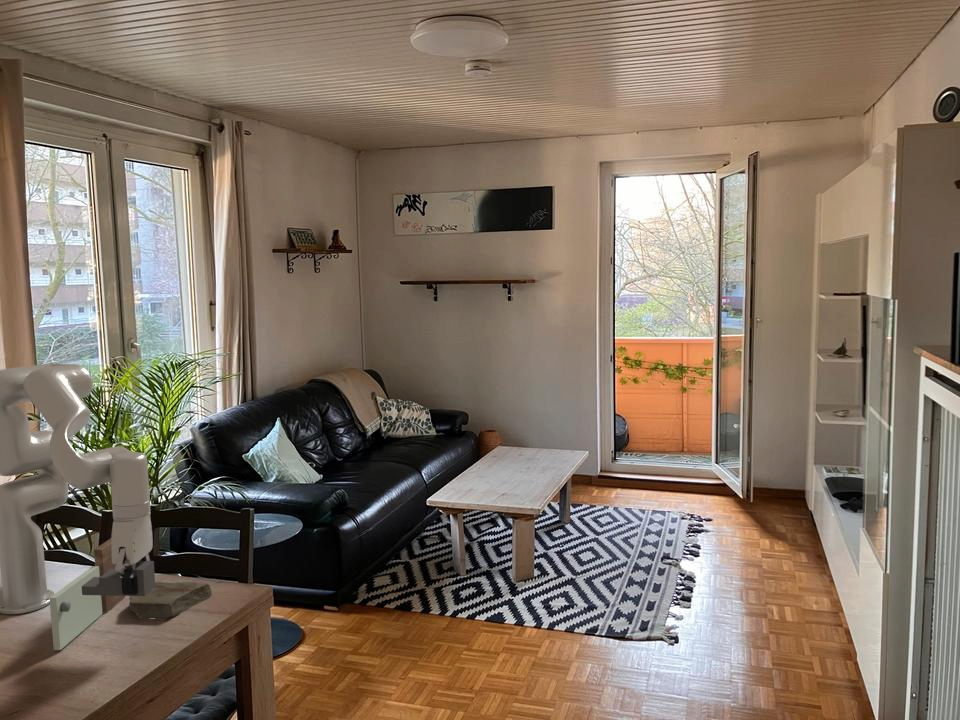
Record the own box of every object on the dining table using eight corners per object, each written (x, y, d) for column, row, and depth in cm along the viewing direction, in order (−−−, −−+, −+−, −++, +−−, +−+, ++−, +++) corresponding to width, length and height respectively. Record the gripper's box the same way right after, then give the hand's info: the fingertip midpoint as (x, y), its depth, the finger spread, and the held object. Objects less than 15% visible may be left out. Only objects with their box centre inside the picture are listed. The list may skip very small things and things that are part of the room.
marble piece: (213, 595, 198) (212, 580, 198) (184, 622, 184) (183, 605, 183) (152, 592, 201) (151, 576, 200) (118, 618, 186) (117, 602, 186)
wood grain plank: (98, 612, 188) (94, 549, 186) (126, 589, 202) (122, 530, 200) (106, 612, 188) (102, 549, 186) (133, 589, 202) (129, 530, 200)
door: (53, 650, 169) (49, 597, 168) (96, 613, 187) (92, 566, 185) (65, 650, 169) (61, 597, 168) (107, 613, 187) (103, 566, 185)
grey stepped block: (82, 595, 170) (80, 568, 169) (94, 585, 175) (92, 560, 174) (144, 596, 169) (143, 569, 168) (155, 586, 174) (153, 560, 173)
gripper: (133, 497, 178) (138, 572, 180) (94, 522, 161) (99, 605, 163) (165, 497, 178) (170, 573, 180) (129, 522, 161) (134, 606, 163)
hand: (136, 587), depth 172 cm, fingers closed on grey stepped block, 5 cm apart
